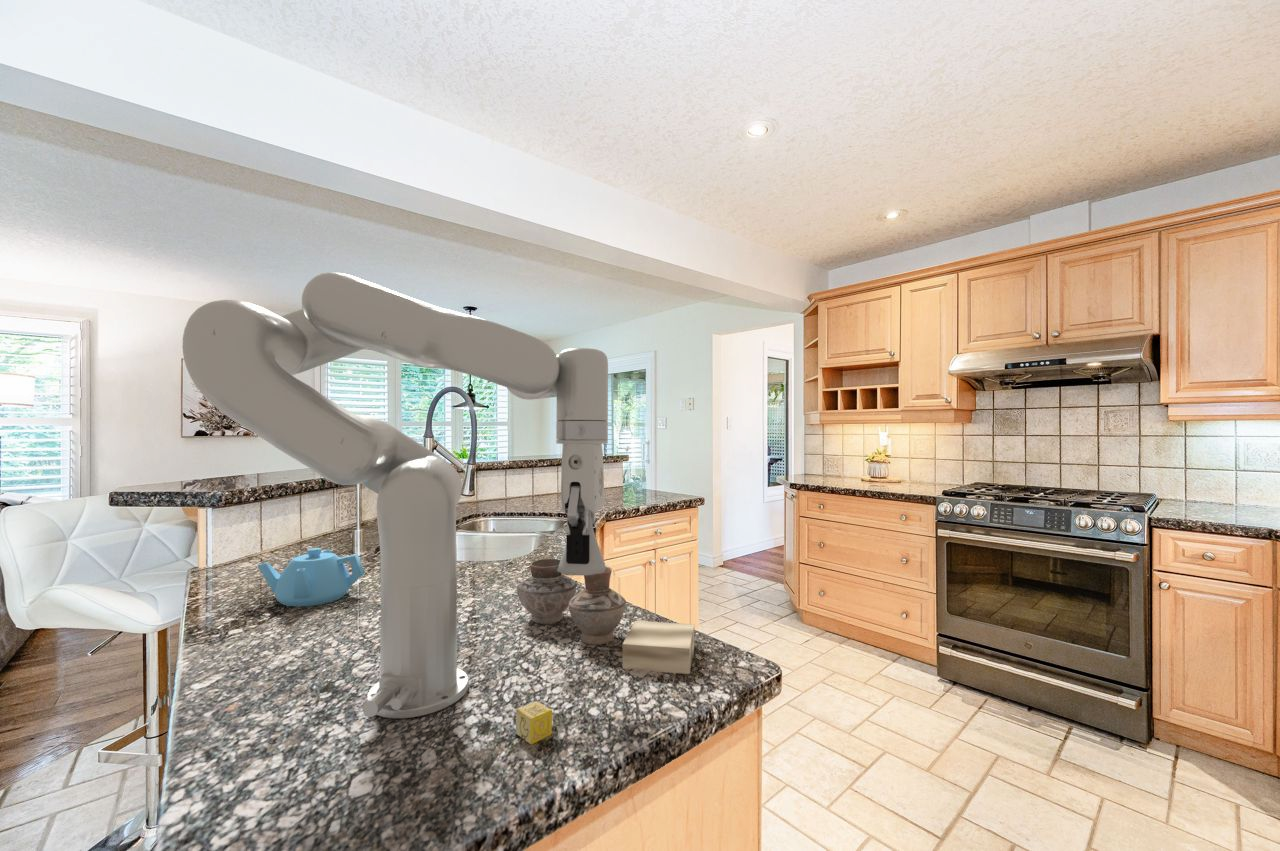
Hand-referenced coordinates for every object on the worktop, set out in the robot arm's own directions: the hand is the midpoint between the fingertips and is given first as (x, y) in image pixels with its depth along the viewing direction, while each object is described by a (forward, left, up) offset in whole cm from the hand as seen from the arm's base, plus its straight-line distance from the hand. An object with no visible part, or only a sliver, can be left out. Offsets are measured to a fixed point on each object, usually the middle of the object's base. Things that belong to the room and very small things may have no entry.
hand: (581, 557), depth 76 cm
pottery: (+19, +6, -17) cm, 26 cm away
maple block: (+7, -11, -17) cm, 22 cm away
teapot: (+32, +65, -17) cm, 74 cm away
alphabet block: (-15, +3, -17) cm, 23 cm away
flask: (0, 0, -2) cm, 2 cm away
